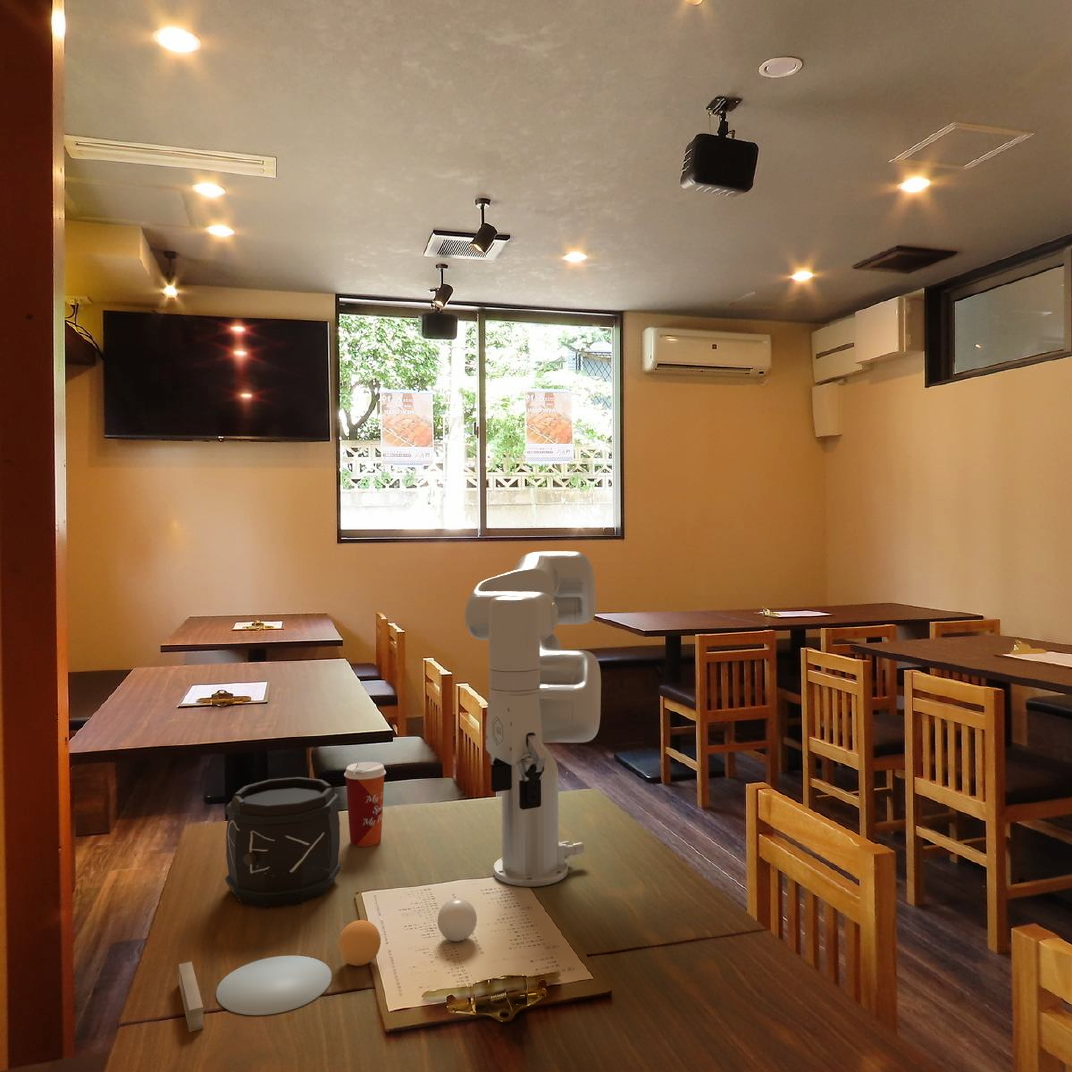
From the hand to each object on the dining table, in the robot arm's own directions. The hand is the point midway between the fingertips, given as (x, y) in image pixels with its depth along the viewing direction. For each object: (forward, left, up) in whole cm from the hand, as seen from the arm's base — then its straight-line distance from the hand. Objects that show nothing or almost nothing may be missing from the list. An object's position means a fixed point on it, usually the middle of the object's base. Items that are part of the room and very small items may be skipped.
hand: (515, 798), depth 125 cm
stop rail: (+44, 0, -18) cm, 48 cm away
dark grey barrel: (+27, -30, -19) cm, 45 cm away
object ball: (+23, 0, -16) cm, 28 cm away
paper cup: (+9, -44, -19) cm, 49 cm away
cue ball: (+9, 0, -16) cm, 18 cm away
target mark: (+34, 0, -18) cm, 39 cm away
